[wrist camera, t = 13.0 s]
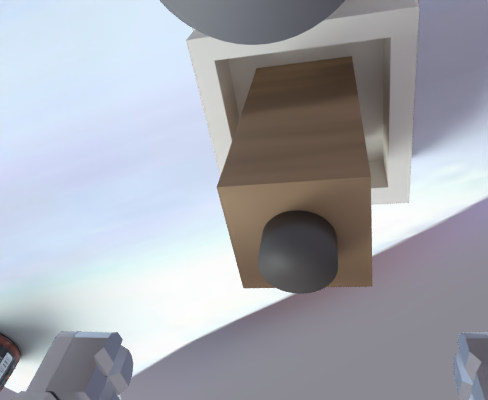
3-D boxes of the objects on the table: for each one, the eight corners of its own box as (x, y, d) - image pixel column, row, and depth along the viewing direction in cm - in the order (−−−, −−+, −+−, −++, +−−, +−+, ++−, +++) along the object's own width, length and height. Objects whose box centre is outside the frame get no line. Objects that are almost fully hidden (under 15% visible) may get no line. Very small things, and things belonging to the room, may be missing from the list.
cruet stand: (140, -239, 16) (-144, -407, 6) (427, -326, 14) (677, -792, 4) (234, 173, 27) (183, 349, 17) (405, 161, 25) (460, 355, 15)
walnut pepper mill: (256, 68, 21) (208, 211, 12) (351, 56, 20) (375, 202, 11) (269, 148, 24) (238, 315, 15) (354, 141, 23) (375, 314, 14)
